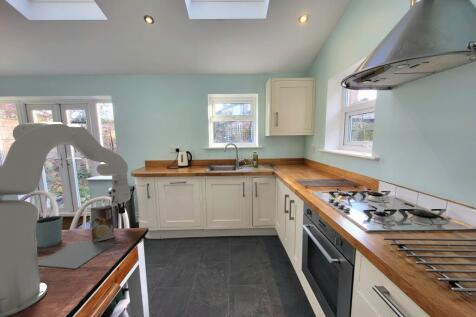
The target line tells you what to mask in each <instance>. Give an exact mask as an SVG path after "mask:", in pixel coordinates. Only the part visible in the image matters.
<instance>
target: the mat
mask: <svg viewBox="0 0 476 317" xmlns="http://www.w3.org/2000/svg"><path fill="white" fill-rule="evenodd" d="M113 245H115V243H114V242H104V241H103V242H102V241H98V242H94V243H92V241H90V240H89V241H87V240H86V241H85V240H77V241H75V242H73V243H71V244H70V245H68V246H66V247H64V248H61V249H60V250H57V251H56V252H54V253H52V254H50V255H48V256H46V257H44V258H42V259H40V260H38V267H44V268H45V267H48V268H58V269H70V270H78V269H79V268H80V267H82V266H83V265H85V264H87V263H88V262H89V261H91V260H92V259H94V258H95V257H97V256H99V254H101V253H103V252H105V250H107V249H109V248H110V247H113Z"/></svg>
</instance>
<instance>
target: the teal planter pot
mask: <svg viewBox="0 0 476 317" xmlns="http://www.w3.org/2000/svg"><path fill="white" fill-rule="evenodd" d="M63 218H64V217H63V216H62V215H52V216H45V217H42V218H38V219H37V224H36V246H37V248H48V247H52V246H54V245H56V244H59V243H60V242H62V235H63V234H62V233H63V232H62V230H63Z"/></svg>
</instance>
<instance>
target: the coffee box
mask: <svg viewBox="0 0 476 317" xmlns="http://www.w3.org/2000/svg"><path fill="white" fill-rule="evenodd" d="M113 208H114V206H113V205H112V204H109V205H103V206H97V207H90V220H91V221H90V224H91V225H90V227H91V242H92V243H94V242H102V241H105V240H109V239H113V238H115V235H114V234H115V233H114V232H115V231H114V230H115V229H114V212H113V211H114V210H113Z"/></svg>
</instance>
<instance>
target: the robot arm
mask: <svg viewBox="0 0 476 317" xmlns="http://www.w3.org/2000/svg"><path fill="white" fill-rule="evenodd" d="M12 137H13V139H14V141H13V143H11V144H10V147H9V148H8V151H7V154H6V157H5V159H4V161H3V163H2V165H1V164H0V317H9V316H10V315H11V316H12V315H14V314H17V313H19V312H21V311H24V310H25V309H27V308H29V307H30V306H33V305H34V304H36V303H37V302H38V301H39V300H41V299H42V298H43V297H44V296H45V294H46V293H47V292H48V285H47V284H46V283H44V282H40V281H41V280H40V269H39V266H38V261H39V260H38V246H37V240H36V224H37V220H38V219H39V210H38V208H37V206H36V205H35V204H34V203H32V202H30V201H28V200H23V199H22V200H21V199H5V197H6V196H25V195H29V194H32V193H33V192H36V190H37V189H38V187H39V185H40V182H41V179H42V178H41V177H42V173H43V171H44V166H45V162H46V159H47V156H48V155H49V153H50V152H51V151H52V150H54V148H56V147H58V146H61V145H62V146H67V145H69V146H72V147H73V148H74V149H75V150H76V151H77V152H78V153H79V154H80V155H81V156H82V157H84V158H85V159H87V160H89V161H93V162H96V163H99V164H98V165H97V166H96V172H97V174H99V176H104V177H110V176H111V181H112V183H111V184H112V186H111V194H110V195H111V203H112V204H113V205H112V207H115V206H116V207H117V213H118V214H119V215H121V214H122V215H123V214H126V206H127V205H126V204H127V203H128V202H129V201H130V199H131V198H132V197H131V188H130V184H129V183H128V171H129V166H128V163H127V161H126V160H125V159H124V158H123V157H122V156H121V155H120V154H118V153H117V152H114V151H113V150H112V149H111V150H110V149H109V148H107V147H104V146H102V145H101V144H100V142H99V141H98V140H97V139H96V138H95V137H94V135H92V134H91V132H89V130H88V129H87V128H86V127H84V126H82V125H79V124H66V123H64V122H54V121H53V122H52V121H51V122H46V121H45V122H23V123H20V124H17V125H16V126H15V127H14V128H13V129H12Z"/></svg>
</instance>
